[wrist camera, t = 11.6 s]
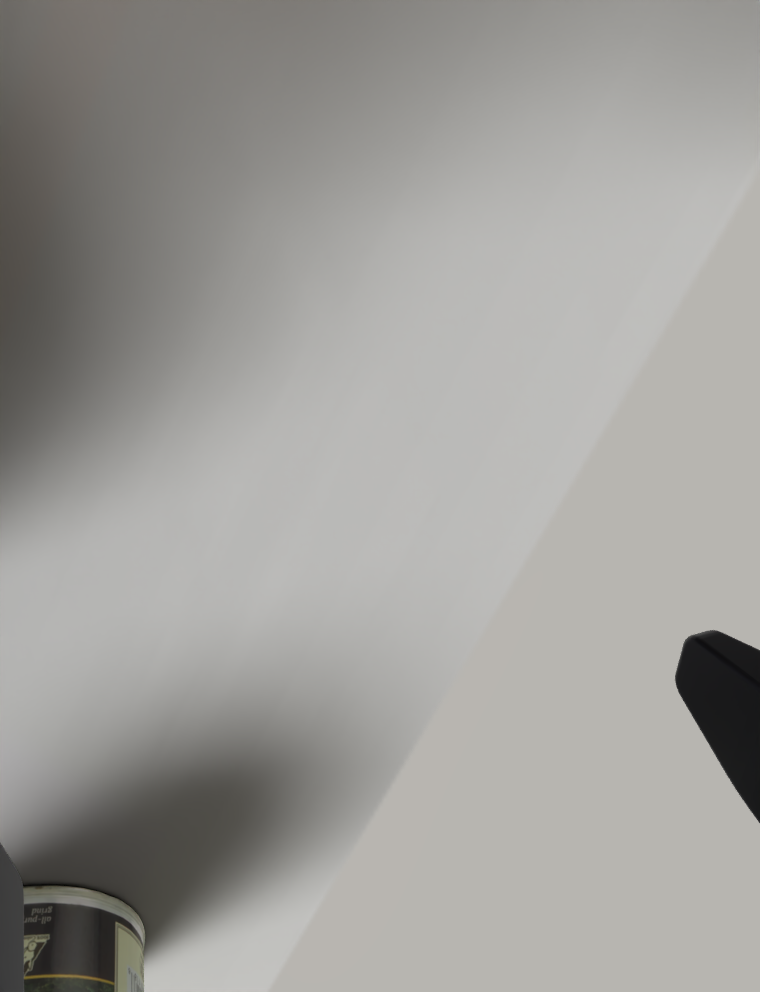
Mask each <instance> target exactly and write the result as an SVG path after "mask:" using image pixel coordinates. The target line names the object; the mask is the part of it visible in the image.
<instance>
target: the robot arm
mask: <svg viewBox="0 0 760 992" xmlns="http://www.w3.org/2000/svg"><path fill="white" fill-rule="evenodd" d="M675 681H676V686H677V689H678V692H679V694H680V695H681V697H682V699H683V701H684V702H685V704H686V706H687V707H688V709H689V711H690V712H691V714H692V716H693V718H694V719H695V721H696V723H697V725H698V726H699V728H700V730H701V731H702V733H703V735H704V736H705V738H706V740H707V742H708V743H709V745H710V747H711V749H712V750H713V752H714V754H715V755H716V757H717V759H718V761H719V762H720V764H721V766H722V767H723V769H724V771H725V773H726V774H727V776H728V777H729V779H730V781H731V782H732V784H733V785H734V787H735V789H736V790H737V792H738V793H739V795H740V796H741V797H742V799H743V800H744V802H745V803H746V805H747V806H748V808H749V809H750V810H751V812H752V813H753V814H754V816H755V817H756V819H757V820H758V821H759V823H760V650H758V649H756V648H754V647H752V646H750V645H747V644H745V643H743V642H741V641H739V640H737V639H735V638H732V637H730V636H728V635H726V634H724V633H721V632H719V631H715V630H710V631H705V632H702V633H698V634H695V635H691V636H689V637H688V638H687V639H686V640H685V642H684V644H683V648H682V652H681V656H680V660H679V663H678V667H677V671H676V675H675ZM0 992H24V891H23V884H22V879H21V876H20V874H19V872H18V870H17V869H16V867H15V866H14V864H13V862H12V861H11V859H10V857H9V856H8V854H7V852H6V851H5V849H4V848H3V846H2V844H1V843H0Z"/></svg>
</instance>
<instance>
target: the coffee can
mask: <svg viewBox="0 0 760 992" xmlns="http://www.w3.org/2000/svg"><path fill="white" fill-rule="evenodd" d="M23 891H24V992H144V945H145V930H144V926H143V923H142V921H141V919H140V918H139V916H138V914H137V913H136V912H135V911H134V910H133V909H132V908H131V907H129V906H128V905H127V904H125V903H124V902H122V901H121V900H120V899H118V898H114V897H111V896H108V895H106V894H104V893H101V892H99V891H93V890H90V889H85V888H78V887H70V886H26V887H23Z"/></svg>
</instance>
